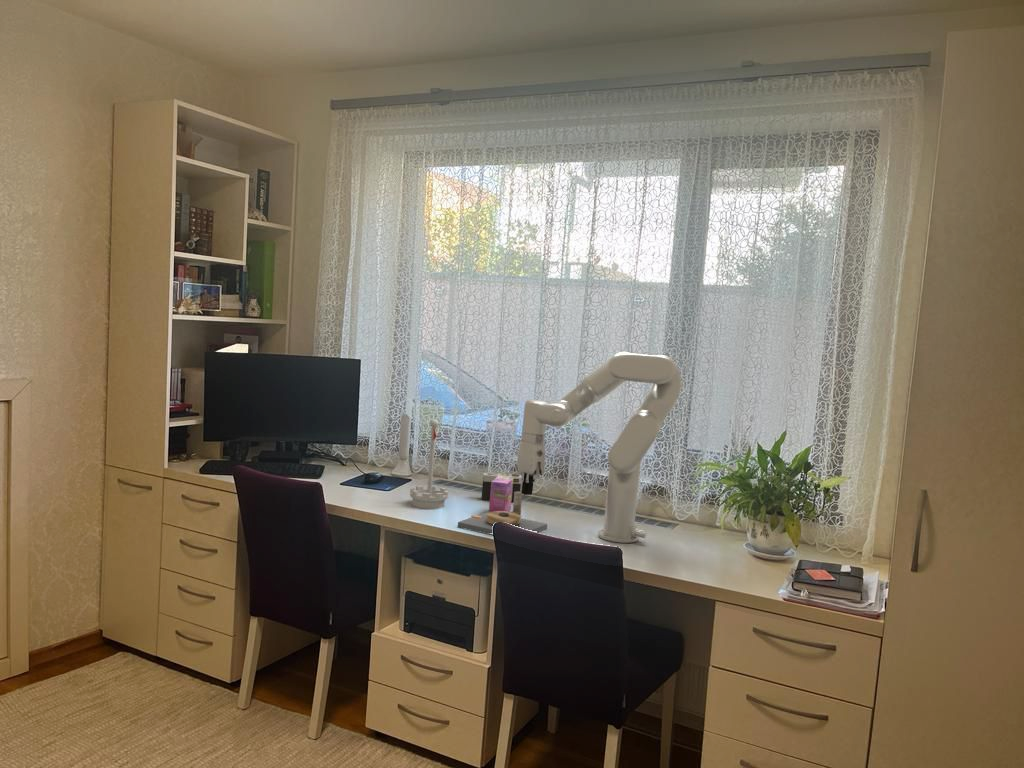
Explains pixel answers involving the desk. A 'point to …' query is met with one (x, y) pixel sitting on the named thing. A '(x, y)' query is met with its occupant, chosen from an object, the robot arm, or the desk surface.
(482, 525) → the board
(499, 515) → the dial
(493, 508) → the box
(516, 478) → the camera
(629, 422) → the robot arm
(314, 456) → the desk surface
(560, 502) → the desk surface
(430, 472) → the flag stand
